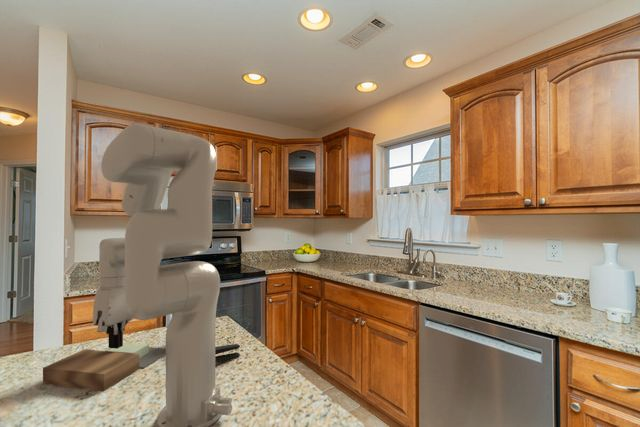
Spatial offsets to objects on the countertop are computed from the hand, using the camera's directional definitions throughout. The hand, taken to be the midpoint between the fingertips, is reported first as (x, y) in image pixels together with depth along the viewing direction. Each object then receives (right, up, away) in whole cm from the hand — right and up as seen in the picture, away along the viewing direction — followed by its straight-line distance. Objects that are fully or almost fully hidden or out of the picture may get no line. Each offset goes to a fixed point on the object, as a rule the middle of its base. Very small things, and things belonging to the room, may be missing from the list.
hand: (115, 347), depth 88 cm
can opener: (+27, -5, -1) cm, 28 cm away
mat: (+1, -5, +5) cm, 7 cm away
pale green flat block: (+1, -3, +4) cm, 6 cm away
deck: (-1, -5, -7) cm, 8 cm away
